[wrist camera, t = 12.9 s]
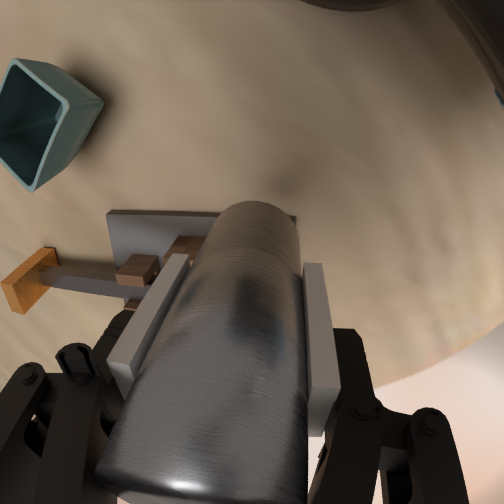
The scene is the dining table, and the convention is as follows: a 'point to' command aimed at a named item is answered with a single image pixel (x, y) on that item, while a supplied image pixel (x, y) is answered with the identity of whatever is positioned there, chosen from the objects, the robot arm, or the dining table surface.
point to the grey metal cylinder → (222, 378)
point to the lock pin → (61, 281)
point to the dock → (154, 242)
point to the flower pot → (42, 120)
